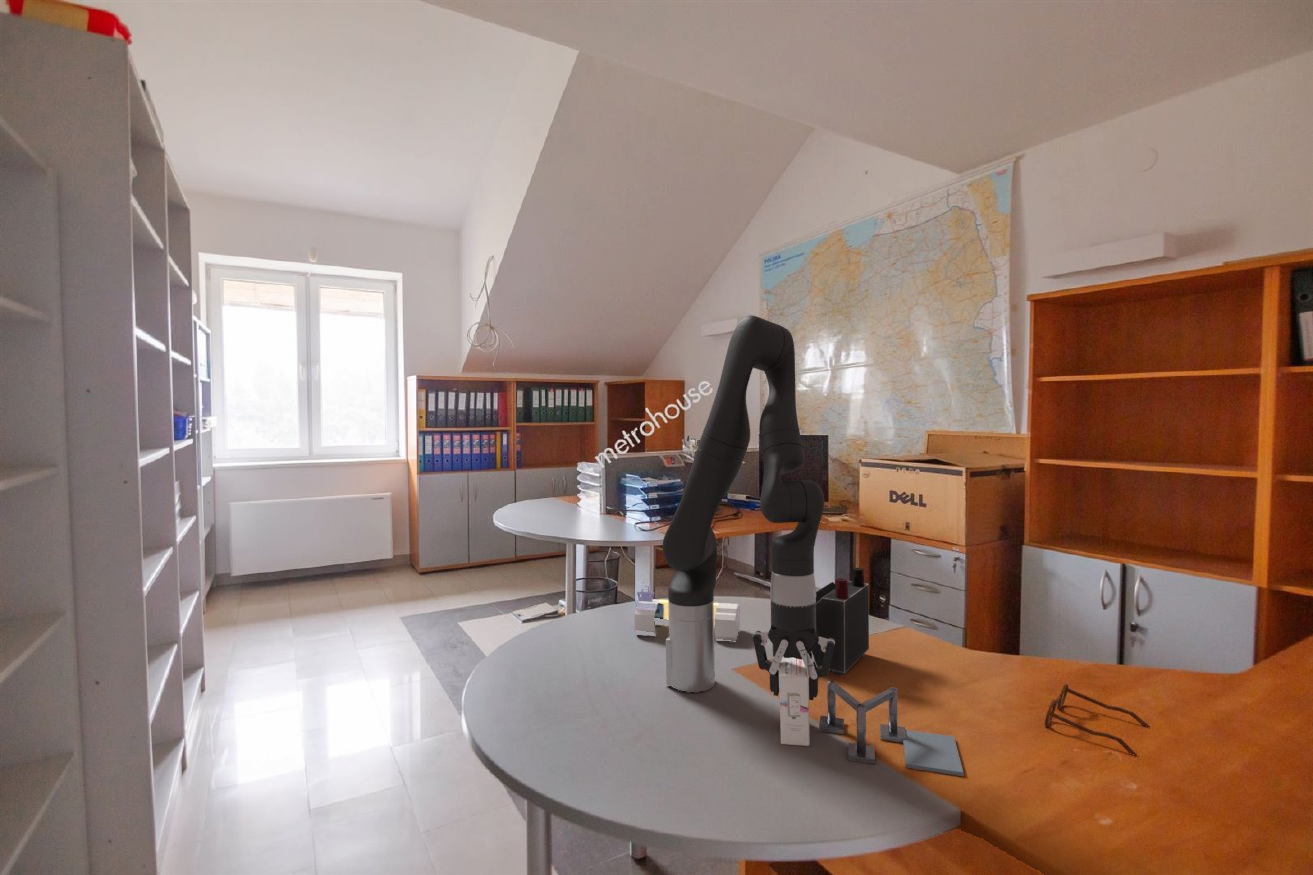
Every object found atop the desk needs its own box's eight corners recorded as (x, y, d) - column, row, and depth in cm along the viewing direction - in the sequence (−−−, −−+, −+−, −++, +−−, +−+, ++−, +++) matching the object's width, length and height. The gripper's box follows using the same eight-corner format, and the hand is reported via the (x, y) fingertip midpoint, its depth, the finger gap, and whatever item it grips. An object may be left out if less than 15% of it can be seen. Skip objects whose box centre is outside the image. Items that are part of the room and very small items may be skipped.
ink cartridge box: (779, 719, 111) (778, 638, 110) (808, 722, 110) (807, 640, 109) (779, 744, 102) (778, 656, 102) (810, 747, 101) (809, 658, 101)
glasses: (1061, 705, 115) (1062, 679, 115) (1150, 729, 106) (1151, 701, 106) (1042, 731, 106) (1042, 703, 106) (1138, 760, 97) (1138, 729, 97)
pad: (905, 767, 95) (905, 763, 95) (902, 732, 106) (902, 729, 105) (963, 776, 93) (963, 772, 92) (953, 739, 103) (953, 736, 103)
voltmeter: (800, 640, 150) (799, 558, 149) (868, 655, 140) (868, 567, 140) (771, 662, 137) (770, 572, 136) (844, 680, 127) (844, 583, 127)
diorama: (634, 638, 154) (633, 585, 154) (645, 624, 164) (644, 575, 164) (735, 645, 148) (734, 591, 148) (740, 630, 158) (739, 580, 158)
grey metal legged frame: (815, 755, 99) (814, 705, 99) (820, 720, 110) (820, 675, 110) (909, 769, 94) (909, 718, 94) (905, 731, 106) (905, 685, 106)
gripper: (746, 600, 104) (748, 700, 105) (835, 607, 99) (836, 711, 100) (754, 588, 111) (755, 682, 112) (837, 594, 106) (838, 692, 107)
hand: (794, 695), depth 106 cm, fingers closed on ink cartridge box, 5 cm apart
